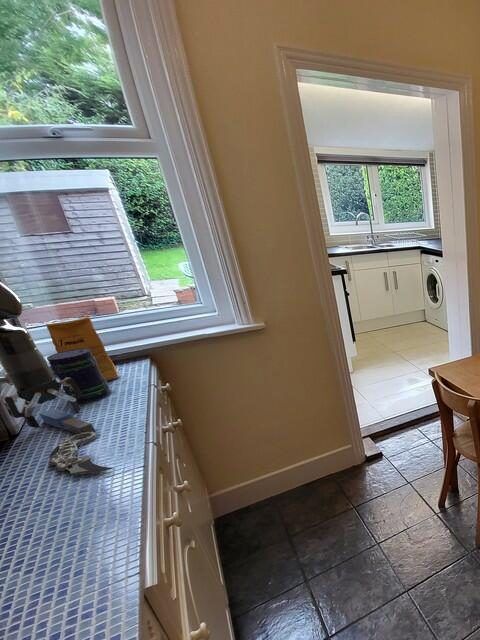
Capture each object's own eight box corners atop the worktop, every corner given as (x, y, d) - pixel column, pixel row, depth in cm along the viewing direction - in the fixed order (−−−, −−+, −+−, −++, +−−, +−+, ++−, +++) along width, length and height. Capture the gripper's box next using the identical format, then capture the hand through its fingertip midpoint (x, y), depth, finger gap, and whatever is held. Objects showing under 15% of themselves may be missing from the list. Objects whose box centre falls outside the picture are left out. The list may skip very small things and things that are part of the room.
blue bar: (75, 423, 116) (70, 414, 114) (61, 428, 113) (56, 419, 112) (58, 417, 119) (53, 408, 118) (44, 422, 117) (38, 413, 116)
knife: (114, 465, 93) (50, 485, 86) (116, 471, 93) (53, 491, 87) (99, 427, 110) (45, 441, 104) (101, 432, 111) (48, 446, 104)
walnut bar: (95, 431, 111) (91, 423, 110) (83, 436, 109) (79, 427, 108) (76, 425, 115) (72, 417, 114) (65, 429, 113) (60, 421, 112)
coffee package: (70, 383, 143) (37, 323, 134) (116, 372, 152) (88, 314, 143) (73, 390, 137) (39, 327, 128) (121, 378, 146) (92, 318, 137)
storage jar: (73, 407, 126) (48, 361, 119) (67, 399, 131) (43, 355, 125) (115, 395, 133) (93, 351, 127) (108, 388, 138) (87, 346, 132)
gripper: (55, 356, 116) (82, 407, 123) (-19, 375, 104) (15, 430, 111) (68, 359, 113) (95, 411, 120) (-6, 379, 102) (28, 435, 108)
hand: (57, 420), depth 116 cm, fingers open, 8 cm apart
